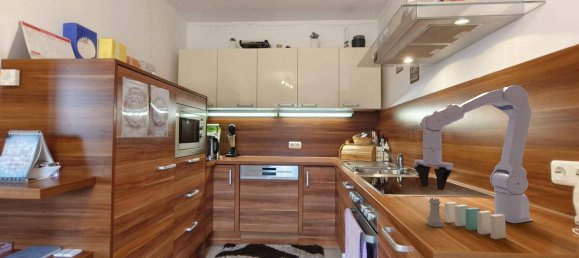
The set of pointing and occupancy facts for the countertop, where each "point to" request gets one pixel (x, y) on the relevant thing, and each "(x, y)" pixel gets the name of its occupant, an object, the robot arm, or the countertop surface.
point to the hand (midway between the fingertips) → (432, 188)
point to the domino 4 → (484, 222)
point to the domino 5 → (497, 226)
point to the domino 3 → (471, 218)
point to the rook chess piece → (434, 213)
